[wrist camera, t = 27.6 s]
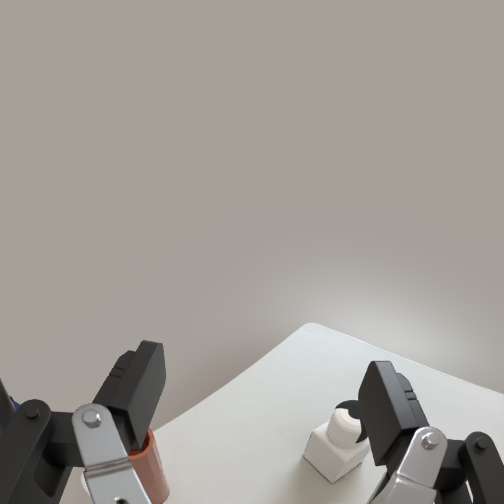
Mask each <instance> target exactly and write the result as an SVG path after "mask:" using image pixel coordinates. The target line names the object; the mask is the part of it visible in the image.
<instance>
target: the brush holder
mask: <svg viewBox="0 0 504 504" xmlns="http://www.w3.org/2000/svg"><path fill="white" fill-rule="evenodd" d="M128 457H129V459H130V461H131V463H132V466H133V468H134V470H135V472H136V474H137V476H138V478H139V480H140V482H141V484H142V486H143V488H144V490H145V492H146V494H147V496H148V498H149V500H150V501H151V503H152V504H161V503H163V502H164V501H165V500H166V499H167V497H168V495H169V487H168V484H167V481H166V477H165V474H164V471H163V468H162V463H161V459H160V456H159V452H158V449H157V445H156V441H155V437H154V435H153V433H152V430H151V429H150V428H148V430H147V433H146V436H145V439H144V441H143V444H142V447H141V449H140V450H138V449H134V448H131V449H130V451H129V454H128Z"/></svg>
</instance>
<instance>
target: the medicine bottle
mask: <svg viewBox="0 0 504 504" xmlns="http://www.w3.org/2000/svg"><path fill="white" fill-rule="evenodd" d="M370 449H371V446H370V442H369V439H368V435H367V431H366V427H365V424H364V420H363V416H362V413H361V409H360V405H359V401H357V400H349V401H345V402H342V403H340V404H339V405H337V406H336V408H335V409H334V412H333V414H332V417H331V419H330V421H328V422H326V423H325V424H323V425H321V426H320V427H318V428H316V429H315V430H313V431H312V434H311V436H310V439H309V441H308V444H307V446H306V449H305V451H304V454H303V456H304V457H305V458H306V459H307V460H308V461H309V462H310V463H311V464H312V465H313V466H314V467H315V468H316V469H317V470H318V471H319V472H320V473H321V474H322V475H323V476H325V477H326V478H327V479H328V480H329V481H330V482H331V483H333V482H335V481H336V480H338V479H339V478H341V477H342V476H343V475H345V474H346V473H347V472H349V471H350V470H351V469H353V468H354V467H355V466H357V465H358V464H359V463H361V462H362V461H363V460H364V458H365V457H366V455H367V454H368V452H369V451H370Z"/></svg>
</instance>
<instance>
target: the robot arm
mask: <svg viewBox="0 0 504 504" xmlns="http://www.w3.org/2000/svg"><path fill="white" fill-rule="evenodd" d="M165 380H166V369H165V360H164V350H163V345H162V343H157V342H152V341H146V340H143V341H142V342H141V343H140V345H139V347H138V349H137V350H136V352H135V351H130V350H129V351H127V352H126V353H125V354H123V355H122V356H120V357H119V359H118V360H117V362H116V363H115V365H114V368H112V370H111V372H110V373H109V376H108V377H107V378H106V380H105V382H104V383H103V385H102V387H101V388H100V390H99V392H98V394H97V395H96V397H95V399H94V400H93V402H92V403H91V404H85V405H82V406H80V407H79V408H78V409H76V410H75V412H74V413H67V412H53V411H51V410H50V408H49V406H48V405H47V404H46V403H45V402H43V401H41V400H37V399H33V400H28V401H26V402H24V403H22V404H21V405H20V406H19V408H18V409H17V408H16V407H15V405H14V404H13V402H14V400H13V399H12V397H11V396H9V395H8V393H7V391H6V389H5V387H4V385H3V383H2V381H1V379H0V504H59V502H60V499H61V496H62V494H63V491H64V489H65V486H66V483H67V481H68V478H69V476H70V473H71V471H72V468H73V467H85V471H84V478H85V481H86V484H87V487H88V490H89V492H90V495H91V498H92V500H93V503H94V504H152V503H151V501H150V500H149V498H148V496H147V494H146V492H145V490H144V488H143V486H142V484H141V482H140V480H139V478H138V476H137V474H136V472H135V470H134V468H133V466H132V463H131V461H130V459H129V457H128V454H129V451H130V449H131V448H134V449H138V450H140V449H141V447H142V444H143V441H144V439H145V436H146V433H147V430H148V428H149V425H150V422H151V420H152V417H153V414H154V412H155V409H156V407H157V404H158V401H159V399H160V396H161V393H162V391H163V388H164V385H165ZM12 401H13V402H12ZM358 401H359V405H360V409H361V413H362V416H363V420H364V424H365V427H366V431H367V435H368V439H369V442H370V446H371V450H372V454H373V458H374V462H375V466H382V465H386V467H387V471H386V472H385V473H384V475H383V477H382V479H381V480H380V482H379V484H378V486H377V487H376V489H375V491H374V492H373V494H372V496H371V497H370V499H369V500H368V502H367V503H366V504H433V502H435V504H504V465H503V463H502V460H501V458H500V456H499V453H498V451H497V449H496V447H495V444H494V442H493V440H492V439H491V438H490V437H489V436H488V435H487V434H485V433H483V432H473V433H471V434H470V435H469V436H468V437H467V438H466V439H465V441H462V440H451V439H446V436H445V435H444V434H443V433H442V432H441V431H440V430H439V429H437V428H434V427H430V426H429V424H428V421H427V419H426V417H425V415H424V412H423V410H422V408H421V406H420V404H419V401H418V400H417V397H416V395H415V393H414V392H413V389H412V387H411V385H410V382H409V381H408V380H407V379H406V378H405V377H404V376H403V375H402V374H401V373H396V371H395V369H394V367H393V365H392V363H391V362H390V361H371V362H370V364H369V366H368V369H367V371H366V374H365V376H364V379H363V381H362V384H361V386H360V389H359V394H358ZM467 480H468V482H469V485H470V488H471V492H472V495H473V503H472V501H471V498H470V495H469V491H468V488H467V485H466V481H467Z"/></svg>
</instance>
